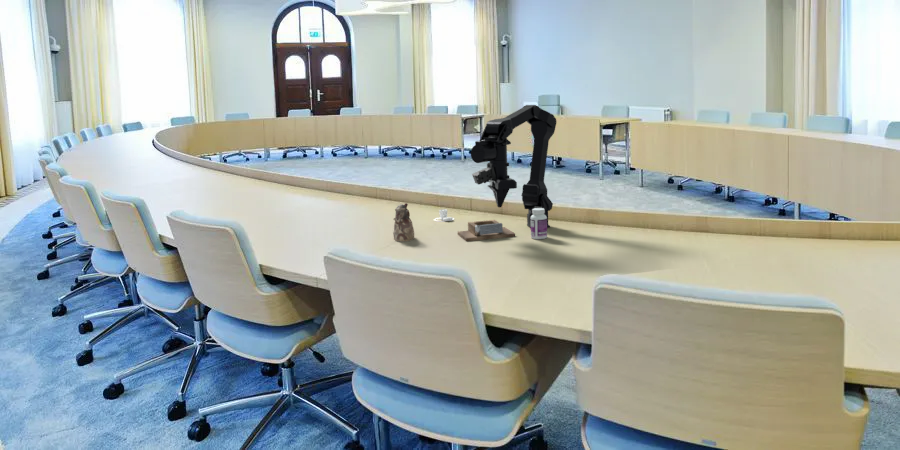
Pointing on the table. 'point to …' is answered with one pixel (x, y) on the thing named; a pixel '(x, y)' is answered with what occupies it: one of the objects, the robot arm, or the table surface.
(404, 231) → the figurine
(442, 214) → the teacup and saucer
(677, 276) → the table surface
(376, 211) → the table surface
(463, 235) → the cradle board
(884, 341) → the table surface
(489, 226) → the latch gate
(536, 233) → the pill bottle
